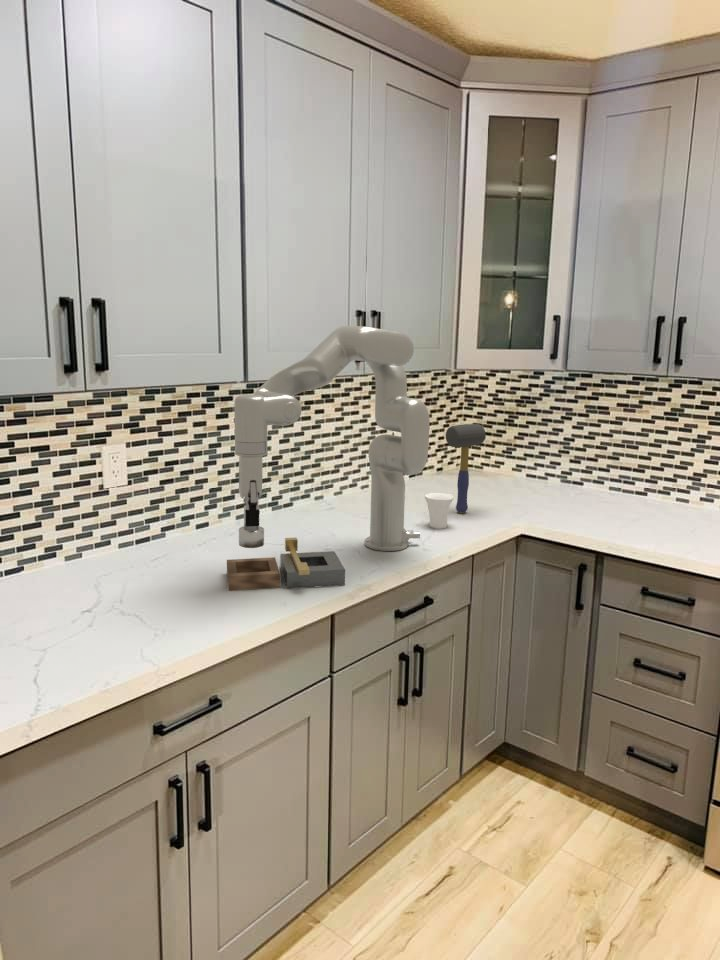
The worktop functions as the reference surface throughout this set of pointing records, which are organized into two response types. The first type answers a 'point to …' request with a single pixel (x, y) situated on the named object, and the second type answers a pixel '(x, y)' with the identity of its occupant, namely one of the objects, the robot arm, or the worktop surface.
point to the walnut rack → (253, 573)
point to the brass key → (296, 556)
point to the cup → (438, 509)
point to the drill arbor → (251, 535)
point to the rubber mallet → (464, 455)
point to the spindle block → (313, 570)
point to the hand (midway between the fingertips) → (251, 522)
